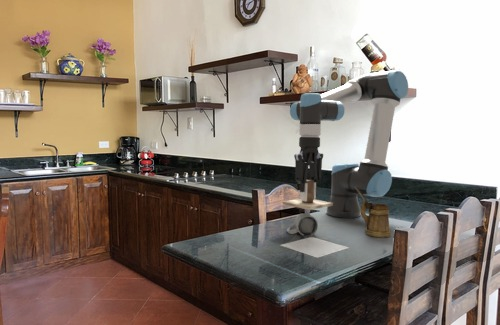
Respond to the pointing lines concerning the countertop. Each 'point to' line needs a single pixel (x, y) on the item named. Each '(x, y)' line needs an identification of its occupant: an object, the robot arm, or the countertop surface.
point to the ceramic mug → (304, 225)
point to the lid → (308, 200)
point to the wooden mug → (375, 218)
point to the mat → (314, 247)
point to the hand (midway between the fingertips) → (307, 199)
